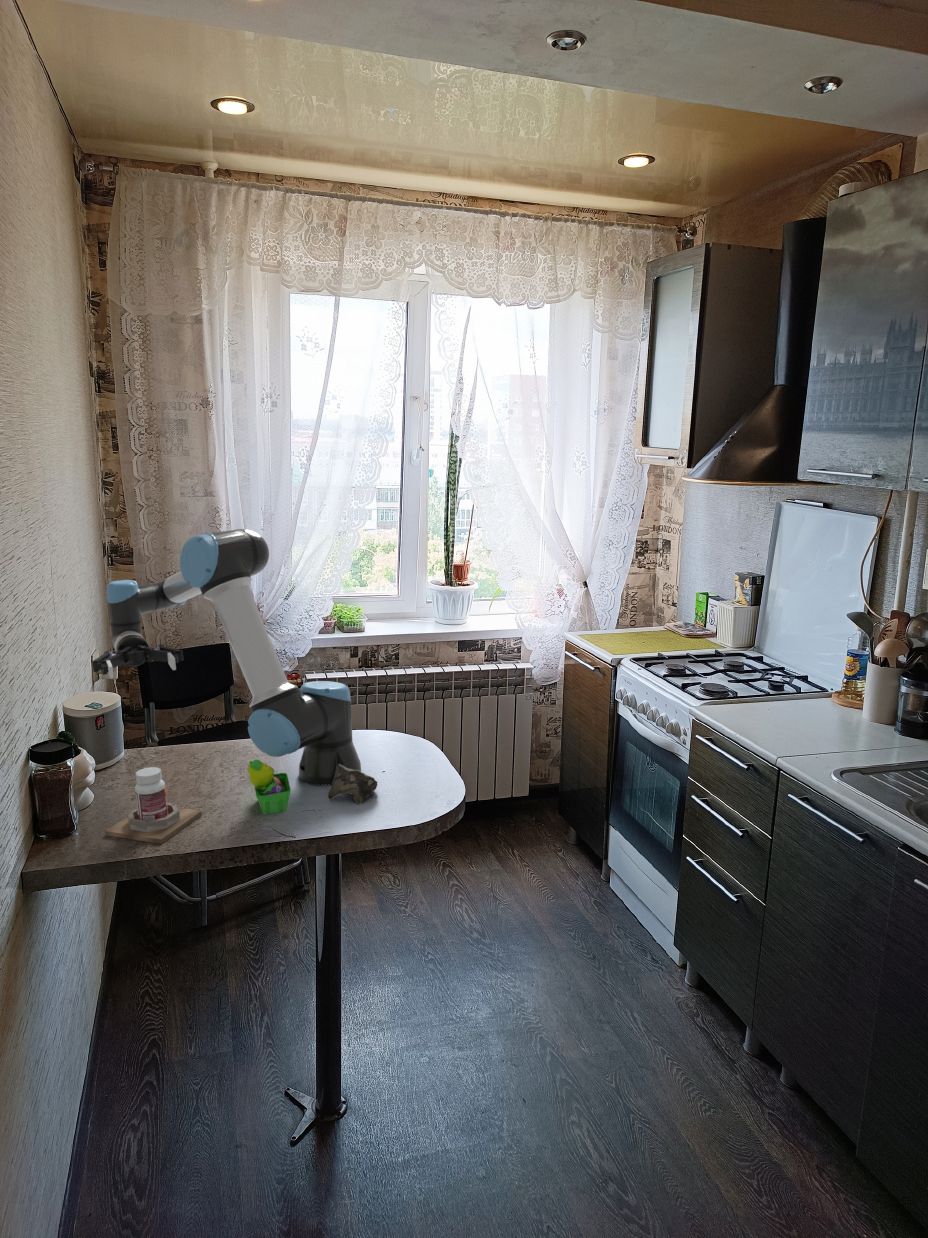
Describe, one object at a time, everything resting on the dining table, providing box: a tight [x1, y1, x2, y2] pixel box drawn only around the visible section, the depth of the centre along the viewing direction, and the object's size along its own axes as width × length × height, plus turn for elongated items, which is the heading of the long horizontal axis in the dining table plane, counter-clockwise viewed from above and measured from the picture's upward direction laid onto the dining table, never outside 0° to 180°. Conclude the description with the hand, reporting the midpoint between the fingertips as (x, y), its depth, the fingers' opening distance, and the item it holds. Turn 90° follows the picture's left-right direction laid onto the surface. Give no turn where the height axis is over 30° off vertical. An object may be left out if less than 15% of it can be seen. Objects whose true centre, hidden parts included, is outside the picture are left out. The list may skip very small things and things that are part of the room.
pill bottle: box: [134, 766, 168, 821], centre depth 183 cm, size 6×6×11 cm
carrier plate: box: [104, 802, 203, 845], centre depth 185 cm, size 14×14×3 cm
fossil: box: [327, 764, 378, 805], centre depth 197 cm, size 11×9×10 cm
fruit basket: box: [247, 759, 292, 815], centre depth 193 cm, size 11×9×11 cm
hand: (143, 668), depth 196 cm, fingers open, 13 cm apart
